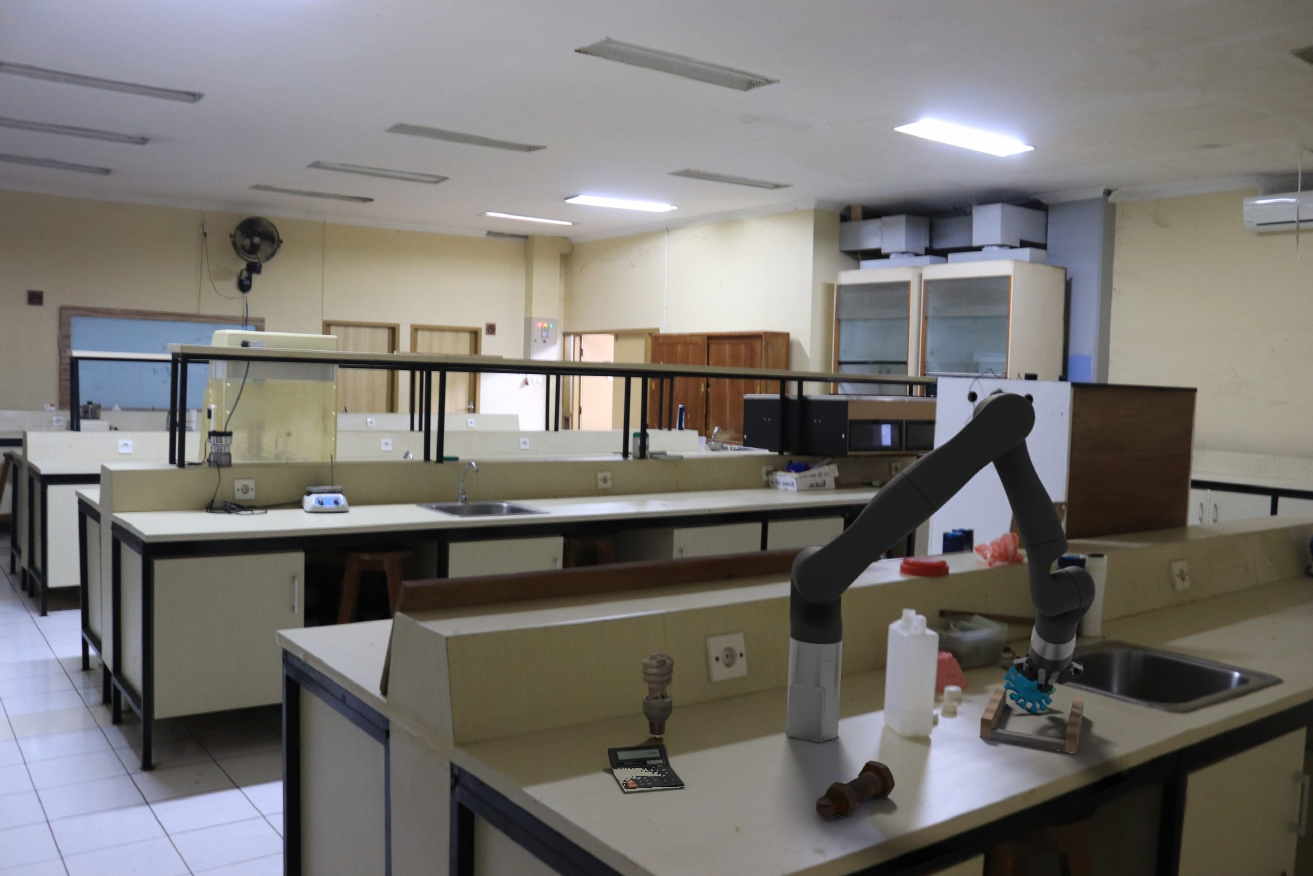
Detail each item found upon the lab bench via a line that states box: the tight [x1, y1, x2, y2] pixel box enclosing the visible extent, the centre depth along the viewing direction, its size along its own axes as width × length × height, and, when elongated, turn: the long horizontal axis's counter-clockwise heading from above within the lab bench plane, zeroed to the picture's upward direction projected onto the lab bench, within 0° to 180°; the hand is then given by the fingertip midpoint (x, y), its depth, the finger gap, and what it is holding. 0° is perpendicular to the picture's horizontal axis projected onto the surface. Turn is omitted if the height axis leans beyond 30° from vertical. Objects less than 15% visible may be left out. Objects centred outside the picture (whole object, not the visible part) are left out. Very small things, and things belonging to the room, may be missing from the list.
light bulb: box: [641, 652, 675, 736], centre depth 170 cm, size 6×6×15 cm
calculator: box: [607, 744, 685, 789], centre depth 153 cm, size 9×12×3 cm
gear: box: [1003, 666, 1057, 714], centre depth 196 cm, size 11×6×10 cm
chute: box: [979, 684, 1085, 754], centre depth 184 cm, size 24×16×4 cm, turn 154°
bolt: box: [814, 760, 896, 821], centre depth 144 cm, size 6×5×15 cm
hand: (1043, 689), depth 194 cm, fingers closed
